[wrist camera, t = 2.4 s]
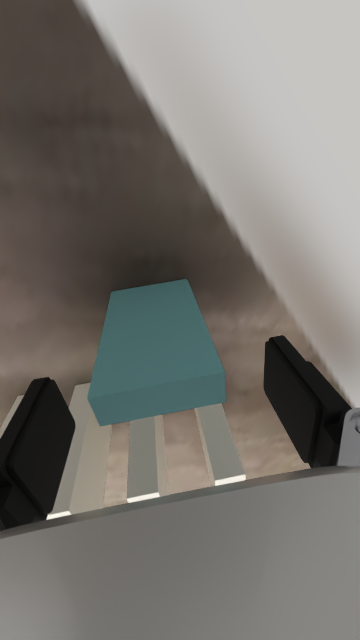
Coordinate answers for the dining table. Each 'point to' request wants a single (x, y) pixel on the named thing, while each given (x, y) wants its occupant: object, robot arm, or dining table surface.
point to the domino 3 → (147, 460)
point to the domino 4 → (218, 446)
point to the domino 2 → (154, 356)
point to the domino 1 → (83, 460)
